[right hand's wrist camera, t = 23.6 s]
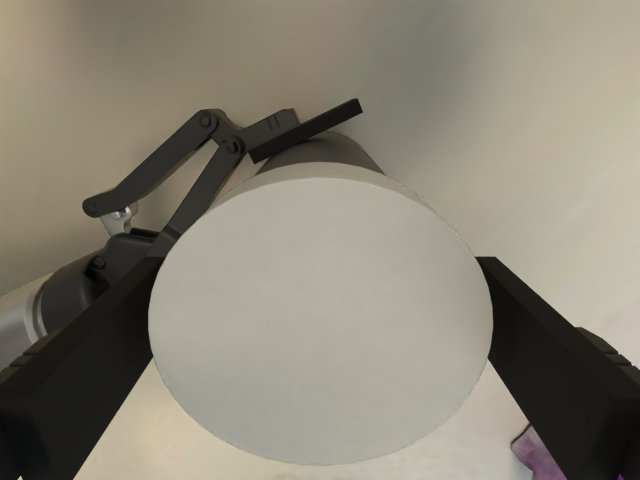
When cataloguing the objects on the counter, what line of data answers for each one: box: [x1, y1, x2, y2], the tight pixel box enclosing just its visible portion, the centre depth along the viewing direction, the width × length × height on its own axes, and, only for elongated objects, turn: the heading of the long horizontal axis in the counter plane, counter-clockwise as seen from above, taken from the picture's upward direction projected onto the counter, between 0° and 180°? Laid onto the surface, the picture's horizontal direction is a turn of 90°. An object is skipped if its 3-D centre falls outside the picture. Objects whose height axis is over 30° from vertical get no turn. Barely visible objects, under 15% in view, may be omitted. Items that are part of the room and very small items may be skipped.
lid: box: [148, 162, 493, 466], centre depth 11 cm, size 10×10×2 cm
